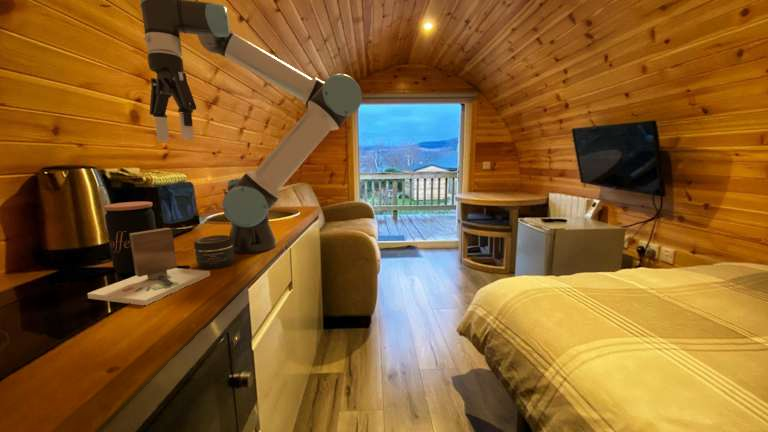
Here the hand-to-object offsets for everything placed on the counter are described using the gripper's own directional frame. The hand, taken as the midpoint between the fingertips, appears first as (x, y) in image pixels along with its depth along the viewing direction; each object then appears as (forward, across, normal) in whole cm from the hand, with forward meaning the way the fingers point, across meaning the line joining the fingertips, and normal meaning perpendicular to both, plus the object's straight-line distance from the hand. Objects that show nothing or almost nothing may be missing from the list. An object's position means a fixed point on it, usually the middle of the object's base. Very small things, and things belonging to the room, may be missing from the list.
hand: (175, 140), depth 89 cm
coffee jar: (+35, -10, -9) cm, 38 cm away
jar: (+35, +6, +4) cm, 36 cm away
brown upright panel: (+33, +11, -12) cm, 37 cm away
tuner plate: (+35, +9, -13) cm, 38 cm away
